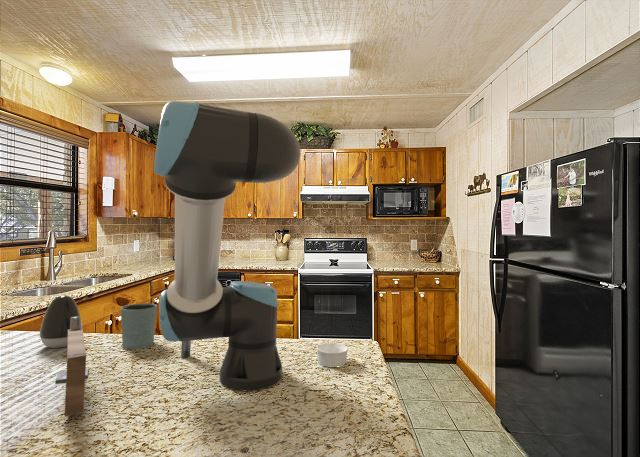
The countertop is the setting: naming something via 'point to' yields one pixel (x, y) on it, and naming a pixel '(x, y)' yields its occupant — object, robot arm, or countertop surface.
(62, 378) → the hinge post
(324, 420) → the countertop surface
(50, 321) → the dark grey egg shape
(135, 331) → the teal cylindrical container
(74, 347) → the gate
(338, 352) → the ramekin
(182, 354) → the post
